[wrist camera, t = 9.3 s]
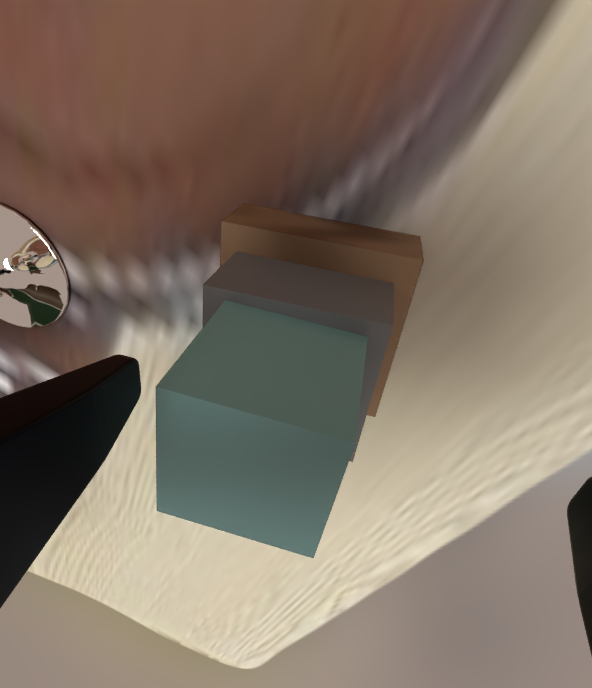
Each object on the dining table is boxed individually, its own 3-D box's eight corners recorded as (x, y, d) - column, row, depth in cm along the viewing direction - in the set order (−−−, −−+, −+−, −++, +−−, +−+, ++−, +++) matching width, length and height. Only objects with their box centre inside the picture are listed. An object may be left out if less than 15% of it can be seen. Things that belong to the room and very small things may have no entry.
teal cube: (368, 336, 14) (355, 442, 10) (334, 441, 17) (313, 558, 13) (225, 299, 14) (155, 387, 10) (215, 407, 17) (156, 510, 13)
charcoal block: (393, 283, 17) (393, 325, 14) (359, 407, 20) (352, 461, 17) (236, 251, 17) (203, 284, 14) (229, 376, 21) (201, 424, 18)
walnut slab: (419, 233, 19) (423, 260, 16) (378, 375, 23) (374, 416, 20) (247, 201, 20) (221, 221, 17) (238, 343, 24) (216, 379, 21)
